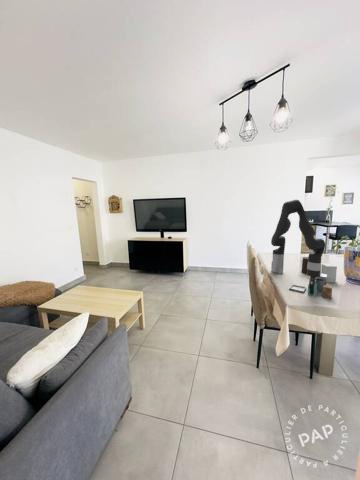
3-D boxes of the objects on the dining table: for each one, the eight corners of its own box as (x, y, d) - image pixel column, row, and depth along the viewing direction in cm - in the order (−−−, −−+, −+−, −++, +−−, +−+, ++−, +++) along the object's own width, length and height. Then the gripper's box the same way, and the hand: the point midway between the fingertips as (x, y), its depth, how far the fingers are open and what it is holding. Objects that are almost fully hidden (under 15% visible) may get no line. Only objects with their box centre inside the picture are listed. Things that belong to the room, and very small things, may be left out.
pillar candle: (302, 274, 169) (304, 257, 167) (300, 270, 178) (301, 255, 175) (315, 275, 165) (317, 258, 163) (312, 271, 174) (314, 255, 172)
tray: (289, 289, 138) (289, 288, 138) (291, 285, 145) (292, 284, 144) (303, 293, 132) (303, 291, 132) (306, 288, 139) (306, 287, 138)
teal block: (307, 294, 130) (308, 284, 129) (308, 292, 133) (309, 282, 132) (315, 296, 127) (316, 286, 126) (316, 293, 130) (317, 283, 129)
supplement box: (335, 282, 149) (337, 266, 147) (325, 282, 150) (326, 266, 148) (330, 279, 156) (331, 263, 154) (320, 278, 157) (321, 263, 155)
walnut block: (322, 297, 125) (323, 286, 124) (323, 294, 129) (323, 284, 128) (331, 298, 123) (332, 288, 121) (331, 296, 126) (332, 286, 125)
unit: (309, 289, 137) (310, 274, 135) (311, 286, 143) (312, 271, 141) (325, 292, 131) (326, 277, 130) (326, 289, 137) (327, 274, 135)
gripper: (319, 272, 120) (317, 298, 122) (322, 266, 130) (320, 290, 133) (305, 270, 125) (303, 295, 127) (308, 265, 135) (307, 288, 138)
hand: (312, 292), depth 130 cm, fingers closed on teal block, 4 cm apart
